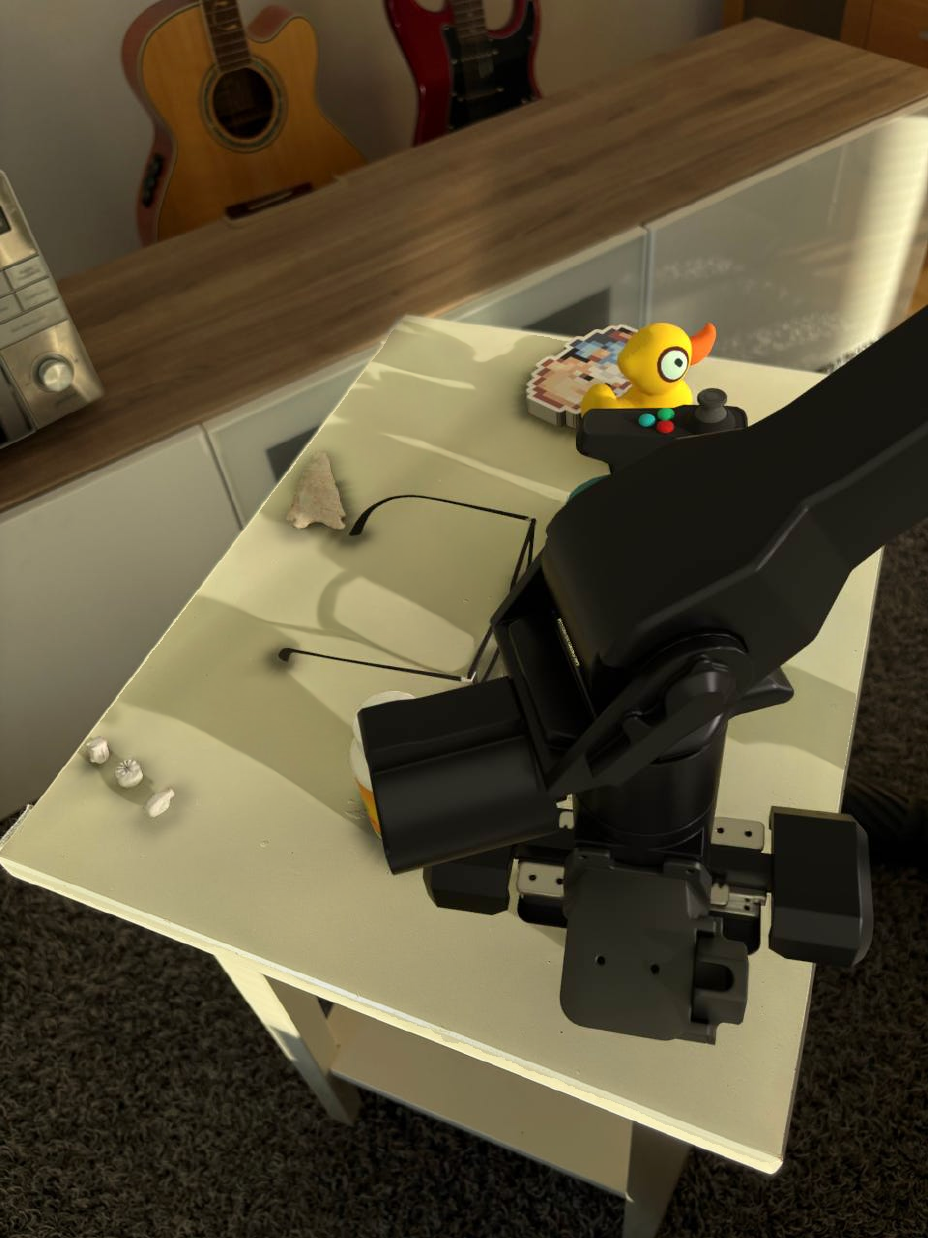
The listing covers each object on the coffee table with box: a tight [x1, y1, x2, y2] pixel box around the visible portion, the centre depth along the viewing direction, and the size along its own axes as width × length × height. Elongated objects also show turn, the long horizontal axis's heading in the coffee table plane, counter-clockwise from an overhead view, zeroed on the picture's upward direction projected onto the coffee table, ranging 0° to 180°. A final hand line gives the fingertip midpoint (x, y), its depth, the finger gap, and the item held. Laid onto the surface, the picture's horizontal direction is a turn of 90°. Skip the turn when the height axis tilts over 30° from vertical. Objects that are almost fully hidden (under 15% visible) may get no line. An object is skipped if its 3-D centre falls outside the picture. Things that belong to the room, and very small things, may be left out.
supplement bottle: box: [349, 690, 416, 840], centre depth 55 cm, size 5×5×10 cm
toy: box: [525, 323, 640, 430], centre depth 86 cm, size 14×2×10 cm
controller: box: [574, 387, 749, 474], centre depth 71 cm, size 4×12×10 cm, turn 80°
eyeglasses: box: [278, 494, 538, 684], centre depth 69 cm, size 16×16×4 cm
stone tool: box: [285, 451, 347, 530], centre depth 80 cm, size 5×1×10 cm
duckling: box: [581, 322, 717, 417], centre depth 77 cm, size 11×5×10 cm, turn 111°
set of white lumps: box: [85, 735, 176, 818], centre depth 62 cm, size 8×2×2 cm, turn 52°
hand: (637, 940), depth 49 cm, fingers open, 3 cm apart
